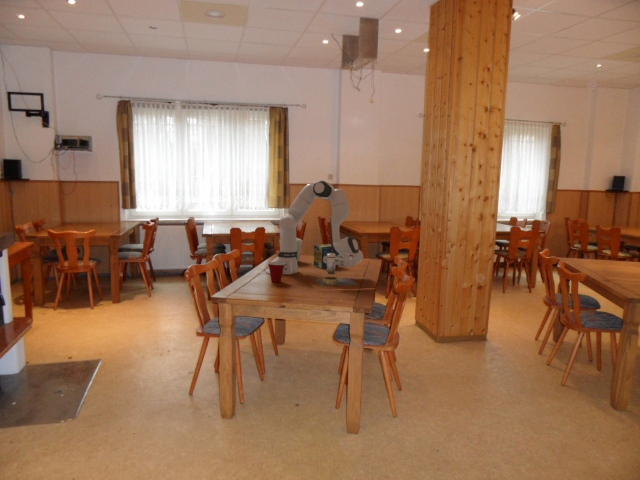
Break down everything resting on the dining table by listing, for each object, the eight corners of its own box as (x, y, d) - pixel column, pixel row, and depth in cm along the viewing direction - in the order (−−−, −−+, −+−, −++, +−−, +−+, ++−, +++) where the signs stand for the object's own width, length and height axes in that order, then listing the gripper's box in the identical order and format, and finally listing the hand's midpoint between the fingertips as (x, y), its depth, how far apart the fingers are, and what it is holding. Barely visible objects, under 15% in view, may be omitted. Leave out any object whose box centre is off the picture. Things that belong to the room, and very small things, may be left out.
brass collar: (323, 285, 267) (323, 280, 266) (321, 281, 276) (321, 276, 276) (339, 284, 268) (339, 279, 268) (336, 281, 278) (336, 276, 277)
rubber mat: (320, 287, 266) (320, 285, 265) (315, 280, 282) (315, 279, 282) (358, 286, 269) (358, 284, 269) (351, 280, 286) (351, 278, 286)
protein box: (313, 266, 330) (313, 245, 327) (330, 264, 338) (331, 243, 336) (321, 268, 321) (321, 247, 319) (338, 266, 329) (339, 245, 327)
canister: (295, 265, 332) (296, 236, 329) (274, 262, 340) (274, 234, 337) (306, 261, 349) (307, 234, 346) (286, 259, 356) (286, 232, 353)
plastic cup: (288, 281, 280) (289, 262, 278) (277, 284, 271) (277, 264, 269) (275, 278, 286) (275, 260, 284) (263, 281, 277) (263, 262, 275)
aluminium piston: (327, 274, 269) (327, 254, 267) (325, 272, 274) (326, 253, 272) (335, 274, 269) (336, 254, 268) (334, 272, 274) (334, 252, 273)
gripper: (331, 252, 287) (317, 255, 276) (357, 256, 273) (343, 259, 263) (331, 262, 287) (316, 265, 277) (357, 266, 274) (343, 270, 264)
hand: (330, 262), depth 270 cm, fingers closed on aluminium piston, 5 cm apart
